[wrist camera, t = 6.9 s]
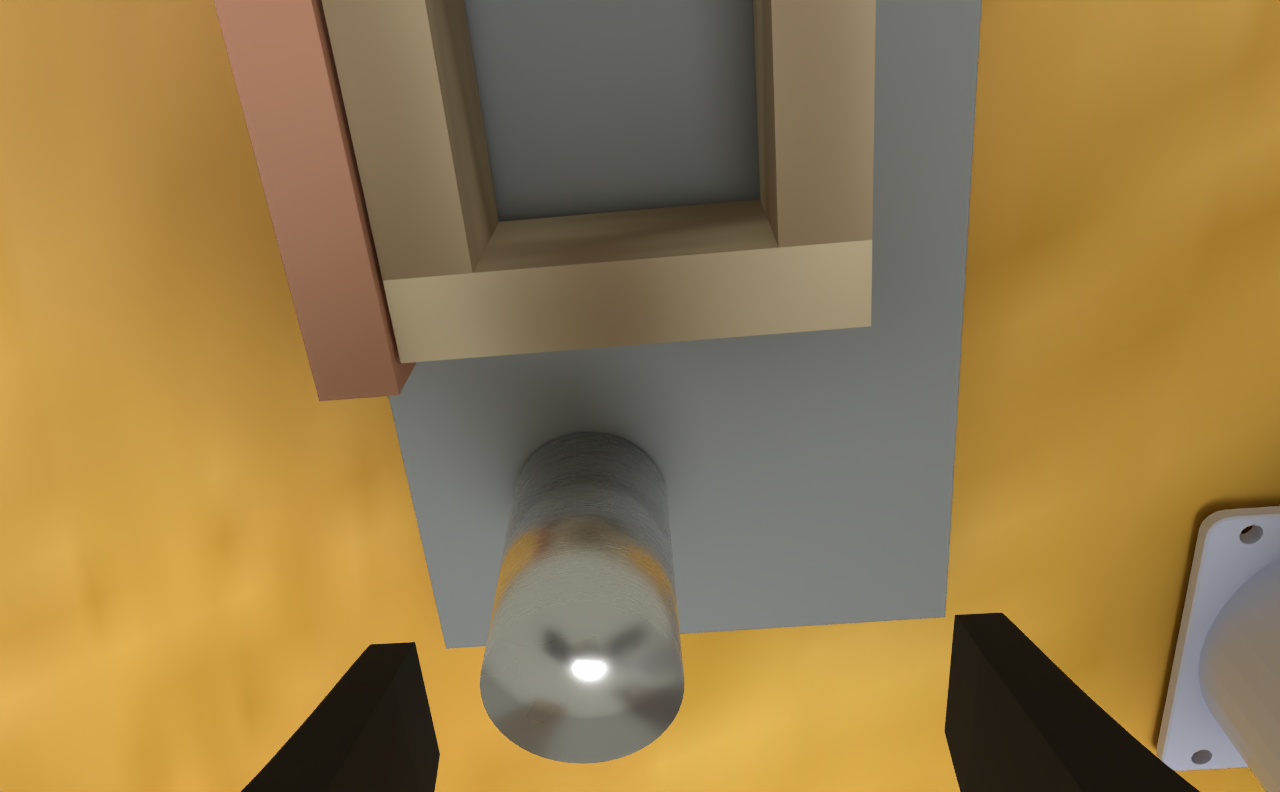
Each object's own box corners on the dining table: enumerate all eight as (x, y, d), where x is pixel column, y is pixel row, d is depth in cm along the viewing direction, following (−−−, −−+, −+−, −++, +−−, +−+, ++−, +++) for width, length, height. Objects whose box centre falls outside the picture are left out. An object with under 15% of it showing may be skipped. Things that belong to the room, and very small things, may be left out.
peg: (649, 417, 21) (661, 587, 15) (680, 546, 22) (701, 744, 17) (496, 448, 21) (454, 627, 16) (536, 574, 22) (510, 777, 17)
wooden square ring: (840, -211, 15) (879, -239, 13) (840, 268, 19) (870, 326, 16) (346, -159, 16) (283, -175, 13) (436, 301, 19) (400, 363, 17)
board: (979, -289, 16) (1089, -359, 12) (934, 590, 24) (990, 727, 20) (270, -211, 17) (147, -252, 13) (453, 622, 25) (414, 760, 20)
